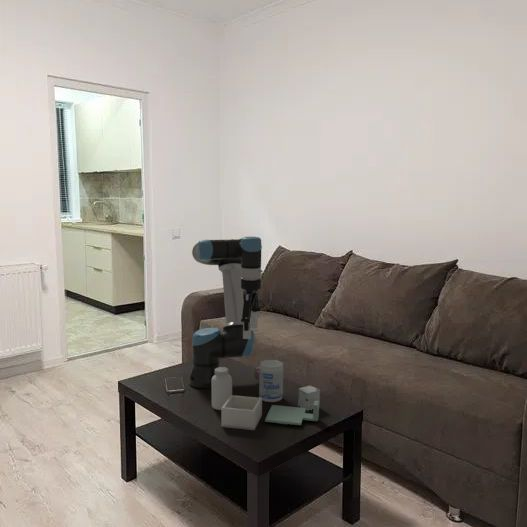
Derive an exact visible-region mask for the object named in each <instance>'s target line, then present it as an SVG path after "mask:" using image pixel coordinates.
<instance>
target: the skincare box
mask: <svg viewBox="0 0 527 527" xmlns="http://www.w3.org/2000/svg"><path fill="white" fill-rule="evenodd" d="M320 395H321V390H320V389H319V388H317V387H315V386H312V385H307V386H303V387H299V388H298V401H297V402H298V403H297V407H299V406H300V407H299V408H306V410H307V411H306V412H310V411H309V410H311V411H313V410H312V409H313V404H314V401H319V405H320V402H321V401H320V399H321V396H320Z"/></svg>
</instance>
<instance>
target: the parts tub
mask: <svg viewBox="0 0 527 527" xmlns="http://www.w3.org/2000/svg"><path fill="white" fill-rule="evenodd" d="M220 411H221V415H220V416H221V419H220V420H221V421H220V422H221V427H222V428H229V429H230V428H231V429H239V430H248V431H256V429H257V427H258V425H259V423H260V421H261V418H262V416H263V400H262V398H259V397H255V396H245V395H244V396H243V395H233V394H232V395H230V397H229V398H228V400H227V401H226V402H225V404H224V405H223V407H222V408H221V410H220Z"/></svg>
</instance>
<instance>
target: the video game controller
mask: <svg viewBox="0 0 527 527" xmlns="http://www.w3.org/2000/svg"><path fill="white" fill-rule="evenodd" d="M259 373H260V365H259V366H257V367H256V368H255V370H254V372H253V375H254V378H255V379H256V381H258V382H259Z"/></svg>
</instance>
